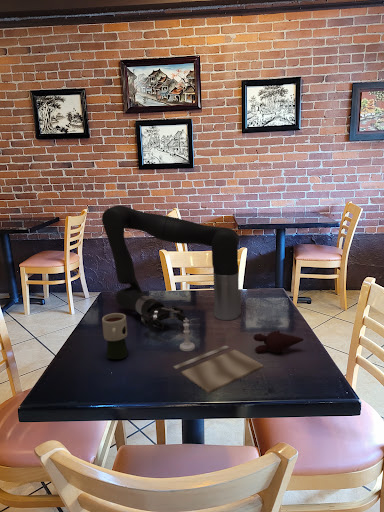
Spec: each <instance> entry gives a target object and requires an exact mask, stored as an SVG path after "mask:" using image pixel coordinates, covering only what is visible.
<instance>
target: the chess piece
mask: <svg viewBox="0 0 384 512" xmlns="http://www.w3.org/2000/svg"><path fill="white" fill-rule="evenodd" d="M189 322H190V320H189V319H188V318H187V317H186V318H185V320H183V322H182V323H183V324H182V326H183V327H184V330H183V333H184V341H183V342H182V343H180V344H179V350H180V351H183V352H190V351H194V350H195V348H196V346H195V343H193V342H191V341H190V336H189V335H190V332H191V330H190V329H189V327H190V324H191V323H189Z"/></svg>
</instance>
